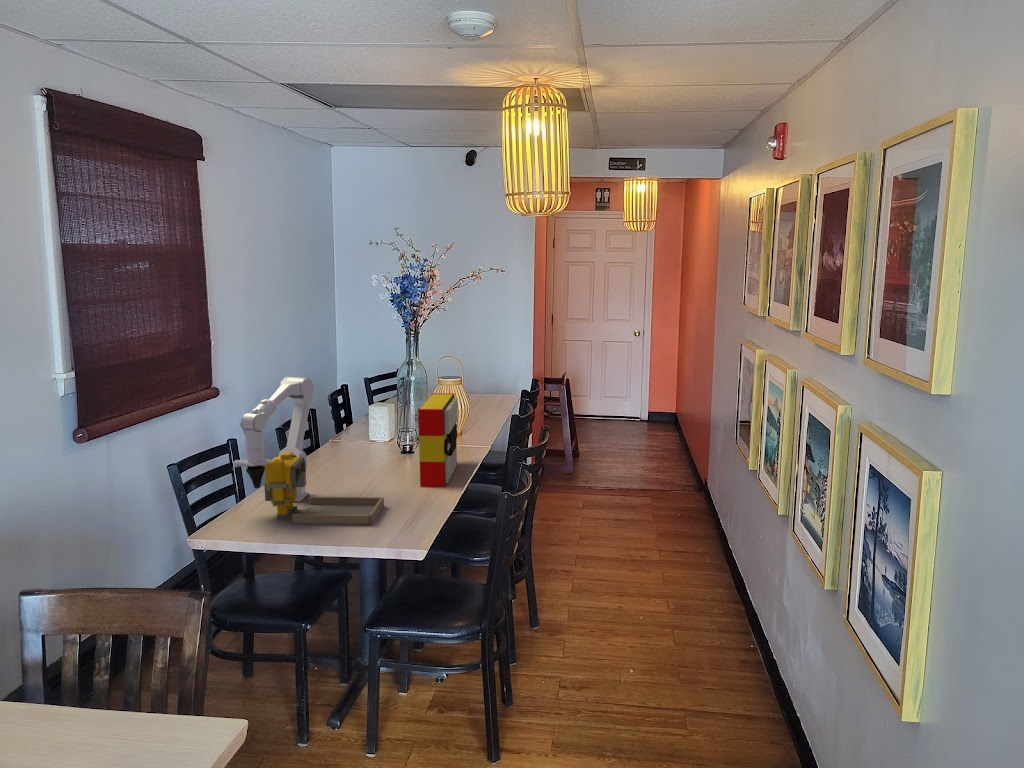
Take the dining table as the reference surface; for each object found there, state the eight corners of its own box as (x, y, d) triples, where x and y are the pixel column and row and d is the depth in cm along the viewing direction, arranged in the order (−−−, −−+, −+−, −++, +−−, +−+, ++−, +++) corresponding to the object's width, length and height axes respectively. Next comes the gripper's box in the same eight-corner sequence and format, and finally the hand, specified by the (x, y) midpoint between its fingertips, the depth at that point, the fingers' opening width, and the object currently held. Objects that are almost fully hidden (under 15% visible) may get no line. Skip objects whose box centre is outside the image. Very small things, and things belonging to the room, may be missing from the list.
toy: (301, 521, 256) (298, 463, 252) (262, 521, 256) (258, 463, 252) (312, 507, 270) (309, 451, 266) (275, 507, 270) (271, 452, 266)
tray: (311, 505, 272) (310, 496, 271) (384, 506, 270) (383, 497, 270) (292, 524, 253) (292, 514, 252) (371, 525, 251) (370, 515, 251)
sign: (448, 487, 291) (447, 409, 286) (420, 487, 292) (418, 409, 287) (459, 463, 324) (458, 393, 318) (434, 463, 324) (432, 393, 319)
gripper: (228, 451, 256) (231, 490, 258) (271, 451, 255) (274, 491, 257) (237, 445, 263) (240, 484, 265) (279, 446, 262) (281, 484, 264)
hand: (257, 487), depth 262 cm, fingers closed
